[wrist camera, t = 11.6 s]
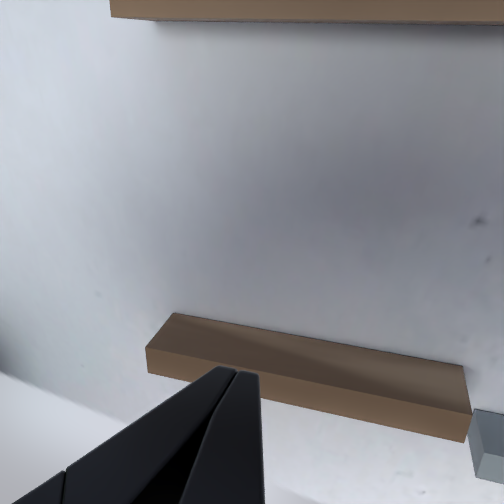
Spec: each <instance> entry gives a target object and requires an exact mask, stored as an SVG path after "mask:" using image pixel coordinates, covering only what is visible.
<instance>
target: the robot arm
mask: <svg viewBox="0 0 504 504" xmlns="http://www.w3.org/2000/svg"><path fill="white" fill-rule="evenodd" d="M12 504H265V489H264V466H263V443H262V420H261V397H260V377H259V374H258V373H255V372H250V371H245V370H240V371H238V370H237V369H235V368H231V367H226V366H222V365H219V366H216V367H214V368H213V369H211V370H210V371H208V372H207V373H205V374H204V375H202V376H201V377H200V378H198V379H197V380H195V381H194V382H192V383H191V384H189V385H188V386H186V387H185V388H183V389H182V390H180V391H179V392H177V393H176V394H174V395H173V396H172V397H170V398H169V399H167V400H166V401H164V402H163V403H161V404H160V405H158V406H157V407H155V408H154V409H152V410H151V411H149V412H148V413H146V414H145V415H143V416H142V417H141V418H139V419H138V420H136V421H135V422H133V423H132V424H130V425H129V426H127V427H126V428H124V429H123V430H121V431H120V432H118V433H117V434H115V435H114V436H113V437H111V438H110V439H108V440H107V441H106V442H104V443H102V444H101V445H99V446H98V447H96V448H95V449H94V450H92V451H91V452H89V453H87V454H86V455H85V456H83V457H82V458H80V459H79V460H77V461H76V462H74V463H73V464H71V465H70V466H68V467H67V469H66V472H65V471H61V472H59V473H58V474H56V475H55V476H53V477H52V478H50V479H49V480H47V481H46V482H44V483H43V484H41V485H40V486H38V487H37V488H35V489H34V490H32V491H31V492H29V493H28V494H26V495H24V496H23V497H21V498H20V499H18V500H17V501H15V502H14V503H12Z"/></svg>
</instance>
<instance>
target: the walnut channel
mask: <svg viewBox="0 0 504 504" xmlns="http://www.w3.org/2000/svg"><path fill="white" fill-rule="evenodd" d="M110 10H111V17H116V18H127V19H138V20H150V21H206V22H285V23H364V24H443V25H504V0H110ZM145 350H146V359H147V369H148V373H151V374H156V375H160V376H165V377H169V378H174V379H178V380H183V381H187V382H194V381H195V380H197V379H198V378H200V377H201V376H202V375H204V374H205V373H207V372H208V371H210V370H211V369H213V368H214V367H216V366H219V365H222V366H226V367H231V368H235V369H237V370H238V371H240V370H245V371H250V372H255V373H258V374H259V377H260V397H261V398H263V399H268V400H272V401H277V402H281V403H286V404H290V405H295V406H299V407H304V408H308V409H313V410H317V411H322V412H326V413H330V414H335V415H339V416H344V417H348V418H353V419H357V420H362V421H366V422H371V423H375V424H380V425H384V426H389V427H393V428H398V429H402V430H407V431H411V432H416V433H420V434H424V435H429V436H433V437H438V438H442V439H447V440H451V441H456V442H460V443H464V442H465V438H466V435H467V432H468V429H469V426H470V423H471V419H472V416H473V414H472V410H471V405H470V400H469V395H468V391H467V386H466V381H465V377H464V372H463V367H462V366H458V365H453V364H447V363H442V362H436V361H431V360H426V359H420V358H415V357H409V356H404V355H398V354H393V353H388V352H382V351H377V350H371V349H366V348H361V347H355V346H350V345H344V344H339V343H334V342H328V341H323V340H317V339H312V338H306V337H301V336H296V335H290V334H285V333H279V332H274V331H269V330H263V329H258V328H252V327H247V326H242V325H236V324H231V323H225V322H220V321H214V320H209V319H204V318H198V317H193V316H187V315H182V314H177V313H173V314H172V315H171V316H170V317H169V319H168V320H167V321H166V322H165V324H164V325H163V326H162V327H161V328H160V330H159V331H158V332H157V333H156V335H155V336H154V337H153V338H152V340H151V341H150V342H149V343H148V344H147V346H146V347H145Z"/></svg>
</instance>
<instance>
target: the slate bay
mask: <svg viewBox="0 0 504 504" xmlns="http://www.w3.org/2000/svg"><path fill="white" fill-rule="evenodd" d="M467 434H468V439H469V445H470V450H471V455H472V461H473V466H474V471H475V476H476V478H480V479H484V480H488V481H492V482H496V483H500V484H504V415H500V414H496V413H491V412H486V411H481V410H476V409H475V410H474V413H473V416H472V420H471V423H470V426H469V429H468V432H467Z"/></svg>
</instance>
